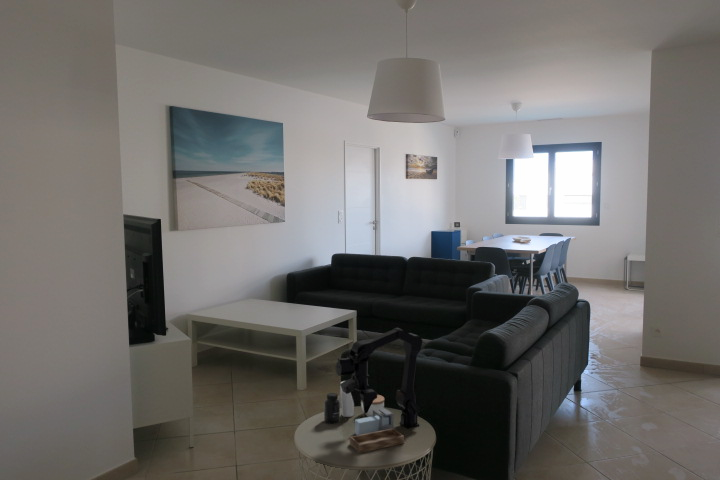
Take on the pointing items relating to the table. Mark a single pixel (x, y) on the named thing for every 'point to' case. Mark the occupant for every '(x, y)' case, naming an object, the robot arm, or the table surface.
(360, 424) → the pale blue rectangular pillar
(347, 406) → the white cylinder
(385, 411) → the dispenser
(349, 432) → the table surface
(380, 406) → the lidded jar
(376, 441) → the tray
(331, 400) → the supplement bottle
